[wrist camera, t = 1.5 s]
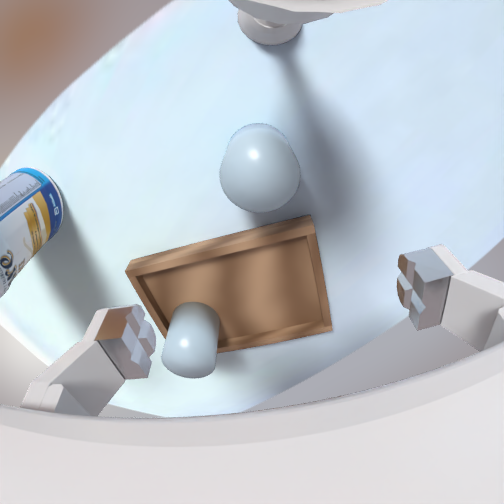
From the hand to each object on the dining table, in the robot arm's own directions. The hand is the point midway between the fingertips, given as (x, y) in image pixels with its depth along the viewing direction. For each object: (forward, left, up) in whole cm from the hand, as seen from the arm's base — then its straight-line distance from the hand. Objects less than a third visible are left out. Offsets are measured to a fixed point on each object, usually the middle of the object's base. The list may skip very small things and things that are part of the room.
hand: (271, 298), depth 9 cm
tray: (+6, +13, -18) cm, 23 cm away
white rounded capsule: (+11, +15, -18) cm, 26 cm away
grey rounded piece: (0, 0, -18) cm, 18 cm away
